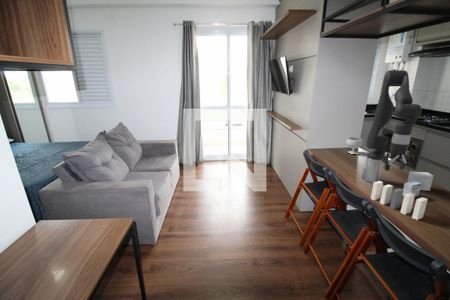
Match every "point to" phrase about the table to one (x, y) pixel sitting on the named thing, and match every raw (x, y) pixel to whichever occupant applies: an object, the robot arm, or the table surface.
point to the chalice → (354, 144)
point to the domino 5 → (419, 208)
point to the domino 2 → (386, 194)
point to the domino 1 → (376, 190)
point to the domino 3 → (396, 198)
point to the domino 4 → (407, 203)
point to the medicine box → (412, 188)
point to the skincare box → (421, 179)
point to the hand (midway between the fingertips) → (393, 169)
